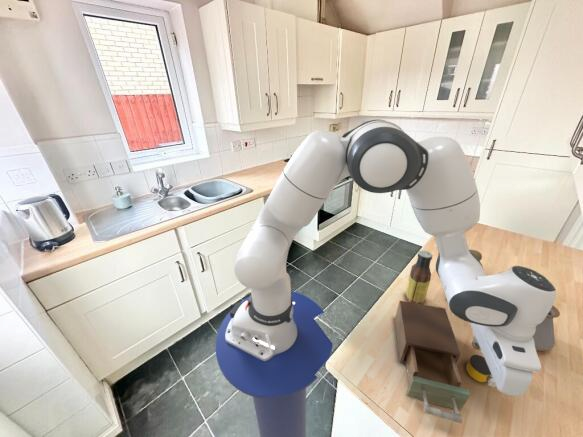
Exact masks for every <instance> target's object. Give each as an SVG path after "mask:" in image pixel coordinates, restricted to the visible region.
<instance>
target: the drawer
mask: <svg viewBox="0 0 583 437" xmlns="http://www.w3.org/2000/svg"><path fill="white" fill-rule="evenodd" d="M405 359H406V364H405V366H406V374H407V379H408V380H407V381H408V387H407V390H406V397H408V398H412V399H415V400H419V401H423V412H424V414H427V415H431V416H434V417H438V418H440V419H444V420H448V421H452V422H455V423H460V424H462V423H463V417H462V415H461V414H460V411H462V409H463V407H464V406H465V404H466V402H467V401H468V399H469V397H470V396H471V394H470V391H469V389H468V388H464V387H461V386H462V384H463V380H462V378H461V375H460V371H459V368H458V365H457V363H456V362H455V358H454V355H451V354H447V353H442V352H438V351H433V350H428V349H424V348H419V347H415V346H410V345H409V346H408V349H407V352H406V355H405ZM430 403H431V404H435V405H437V406H442V407H446V408H448V409H452V410H453V411H454V412H452V411H449V410H448V411H447V410H445V409H440V408H437V407H432V406H430V405H429V404H430Z"/></svg>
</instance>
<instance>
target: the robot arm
mask: <svg viewBox="0 0 583 437" xmlns="http://www.w3.org/2000/svg"><path fill="white" fill-rule="evenodd" d="M348 177H351V180H352V181H353V182H354V183H355V184H356V185H357V186H358V187H359V188H360V189H362V190H363V191H366V192H368V193H373V194H387V193H393V192H395V191H404V190H405V191H406V193H407V196H408V199H409V203H410V207H411V209H412V211H413V214H414V216H415V218H416V220H417V222H418V224H419V225H420V227H421V228H422V230H423V231H424V232H425V233H426V234H427V235H430V236H433V238H434V241H435V245H436V248H437V251H438V254H437V255H438V256H437V258H436V262H435V271H436V274H437V276H438V278H439V281H440V283H441V286H442V289H443V292H444V296H445V299H446V302H447V304H448V307H449V310H450V311H451V313H452V314H453V315H454V316H455V317H457V318H458V319H459V320H462V321H464V322H467V323H469V325H470V327H471V330H472V342H471V346H472V348H473V350H475V351H480V352H481V354H482V356H483V357H484V358H485V360H486V363H487V365H488V367H489V370H490V372H491V376H487V378H486V384H487V386H489V387H492V388H497V390H498V391H499V393H501V394H504V395H506V396H511V397H518V398H519V397H522V396H523V395H524V394H525V393H526V392H527V391H528V389H529V388H530V386H531V384H532V382H533V381H534V380H533V379H534V373H540V372H541V370H542V364H541V360H540V358H539V355H538V353H537V352H538V351H537V350H536V349H535V343H534V339H533V335H534V334H535V331H536V326H537V325H538V324H540V323H541V322H543V321H544V319H545V318H546V316H547V315H548V313H549V311H550V310H551V308H552V306H554V304H555V301H556V298H557V289H556V287H555V286H554V284H553V283H552V282H551V281H550V280H549V279H548V278H547V277H546V276H544V275H543V274H541V273H539V272H537V271H536V270H534V269H531V268H529V267H526V266H521V265H512V266H511V267H509V268H508V269H507V270H505V271H502V272H499V273H496V274H490V275H488V274H487V272H486V271H485V268H484V267H483V264H482V262H481V260H479V259H478V258H477V257H476V256H475V255H474V254H473V253H472V252H471V251H470V250H471V249H470V248H469V244H468V241H467V237H466V236H467V235H466V233H467V232H469V231H470V230H472V229H473V228H474V227H475V226H477V224H478V223H479V221H480V217H481V215H480V214H481V201H480V195H479V189H478V186H477V183H476V178H475V176H474V172H473V169H472V167H471V164H470V163H469V160H468V158H467V156H466V153H465V152H464V150H463V148H462V146H461V145H460V143H459V142H458V141H457V140H455V139H454V138H452V137H448V136H433V137H428V138H425V139H422V140H420V141H416V140H415V139H414V138H412V137H411V136H410V135H409V134H407V132H405V131H404V130H403V129H402V128H401V127H400V126H399V125H398V124H396V123H393V122H391V121H388V120H384V119H371V120H367V121H365V122H362V123H361V124H358V125H357V126H355V127H354V128H353V129H351V130H349V131H347V132H345V133H344V134H342V136H340V135H338V134H336V133H335V132H333V131H330V130H325V129H318V130H314V131H312V132H310V133H309V134H308V135H307V136H306V137H305V139H304V140H303V141H302V142H301V143H300V145H299V146H298V147H297V149H296V150H295V151H294V153H293V154H292V156H291V157H290V159H289V160H288V161H287V163H286V165H285V167H284V168H283V170H282V172H281V174H280V175H279V177H278V179H277V181H276V183H275V184H274V187H273V188H272V190H271V192H270V194H269V195H268V197H267V199H266V201H265V203H264V205H263V207H262V208H261V210H260V212H259V214H258V215H257V217H256V219H255V221H254V222H253V223H252V224H253V225H252V226H251V228H250V230H249V232H248V234H247V235H246V237H245V239H244V240H243V242H242V244H241V246H240V248H239V249H238V252H237V255H236V259H235V262H234V263H235V264H234V267H233V268H234V270H233V272H234V275H235V277H236V279H237V281H238V282H239V283H240V284H241V285H243V287H245V288H247V289H249V290H250V295H249V296H248V297H249V298H248V297H247V298H248V300H247V301H245V302H244V303H243V304H242V303H240V302H239V301H238V302H237V303H236V304H235V305H234V306H233V308H232V309H231V310H230V311H231V312H230V311H229V312H230V316H231V318H232V319H231V320H230V322H229V324H228V326H227V329H226V334H225V339H226V342H228V343H230V344H231V345H233V346H235V347H237V348H239V349H241V350H243V351H245V352H247V353H249V354H251V355H253V356H255V357H257V358H259V359H261V360H263V361H267V360H269V359H270V358H272V357H273V356H274V355H276V354H279V353H282V352H284V351H286V350H287V349H289V348H290V347H291V346H292V345H293V344H294V342H295V340H296V338H297V326H296V324H295V322H294V319H293V304H295V302H293V300H292V296H291V291H292V287H291V285H292V284H291V282H292V281H291V276H290V274H289V273H288V272H287V260H288V255H289V251H290V248H291V246H292V243H293V241H294V239H295V238H296V236H297V234H298V233H299V232H300V231H301V230H302V229H303V228H305V227H307V226H309V225H310V224H311V222H312V221H313V219H314V218H315V216H316V215H317V214H318V212H319V211H320V210H321V208H322V206H323V205H324V204H325V203H326V201H327V200H328V198H329V197H330V195H331V194H332V192H333V191H334V190H335V188H336V187H337V185H338V184H339V183H340V182H342V181H343V180H344V179H346V178H348ZM228 332H230V333H228ZM261 354H263V355H261Z"/></svg>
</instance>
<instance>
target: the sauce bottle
mask: <svg viewBox="0 0 583 437" xmlns="http://www.w3.org/2000/svg"><path fill="white" fill-rule="evenodd" d="M432 260H433V254H432V253H431V252H430V251H428V250H419V251H418V254H417V259H416V263H414V264H412V266H411V268H410V273H409V277H408V282H407V286H406V290H405V298H406V301H407V302H411V303H417V304H422V305H424V303H425V300H426V298H427V295H428V290H429V287H430V283H431V280H432V279H431V278H432V272H431V267H430V266H431V261H432Z"/></svg>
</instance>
